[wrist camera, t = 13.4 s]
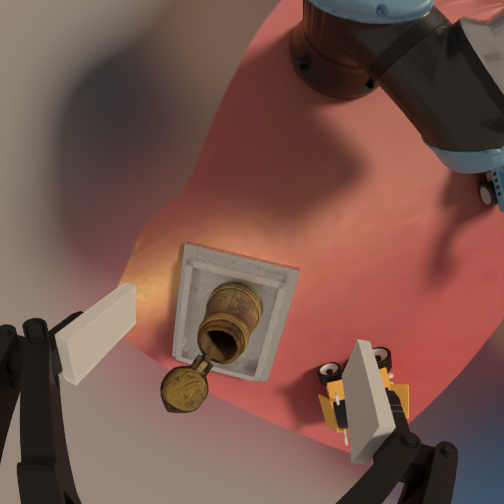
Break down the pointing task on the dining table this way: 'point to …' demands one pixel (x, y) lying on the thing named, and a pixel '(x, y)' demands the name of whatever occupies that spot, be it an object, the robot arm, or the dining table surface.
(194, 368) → the wooden mug
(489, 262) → the dining table surface
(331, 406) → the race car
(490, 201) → the toy excavator
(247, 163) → the dining table surface
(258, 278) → the mug bay
